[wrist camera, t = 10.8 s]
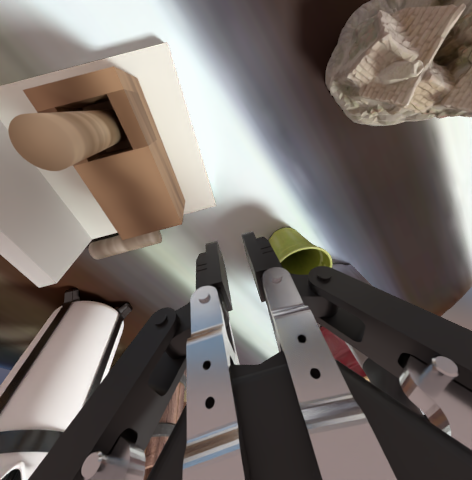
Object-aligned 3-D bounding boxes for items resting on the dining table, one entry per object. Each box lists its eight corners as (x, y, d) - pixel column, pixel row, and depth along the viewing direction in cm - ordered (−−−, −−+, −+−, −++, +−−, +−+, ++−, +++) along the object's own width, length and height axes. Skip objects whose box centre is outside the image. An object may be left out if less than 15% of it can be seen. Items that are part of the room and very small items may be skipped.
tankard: (179, 336, 48) (169, 454, 32) (203, 366, 58) (205, 468, 41) (88, 364, 49) (32, 494, 32) (127, 389, 58) (99, 499, 42)
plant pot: (264, 266, 40) (278, 301, 33) (252, 229, 35) (267, 260, 28) (308, 251, 40) (333, 283, 33) (304, 211, 34) (331, 238, 27)
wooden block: (157, 224, 32) (151, 226, 30) (163, 240, 33) (157, 244, 30) (97, 240, 32) (85, 244, 29) (104, 256, 33) (93, 261, 30)
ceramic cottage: (494, 12, 23) (809, -96, 11) (382, 147, 31) (493, 174, 18) (416, -109, 18) (831, -558, 6) (305, 87, 26) (386, 69, 14)
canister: (311, 345, 61) (346, 419, 47) (317, 320, 54) (361, 398, 40) (350, 338, 63) (396, 407, 48) (362, 312, 55) (420, 384, 41)
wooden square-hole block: (137, 78, 21) (113, 66, 15) (185, 200, 29) (181, 224, 23) (71, 95, 21) (22, 90, 15) (138, 213, 29) (122, 240, 23)
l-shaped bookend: (168, 46, 21) (147, 1, 12) (215, 202, 31) (221, 238, 22) (-28, 97, 21) (-192, 89, 12) (84, 237, 31) (39, 287, 22)
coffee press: (23, 294, 35) (-408, 752, 10) (118, 279, 36) (-55, 648, 11) (75, 346, 44) (-79, 645, 20) (148, 333, 46) (90, 596, 21)
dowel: (121, 106, 20) (48, 107, 10) (135, 137, 21) (84, 163, 12) (93, 113, 20) (-8, 121, 10) (109, 144, 21) (37, 176, 11)
